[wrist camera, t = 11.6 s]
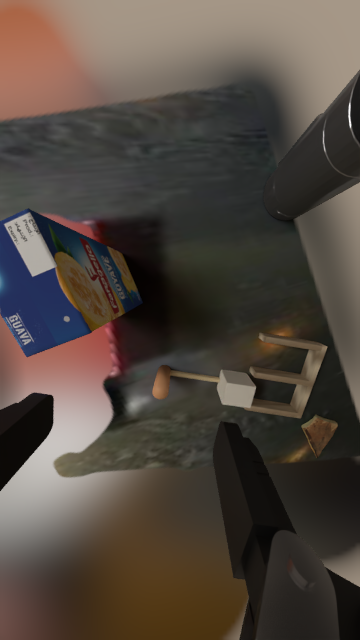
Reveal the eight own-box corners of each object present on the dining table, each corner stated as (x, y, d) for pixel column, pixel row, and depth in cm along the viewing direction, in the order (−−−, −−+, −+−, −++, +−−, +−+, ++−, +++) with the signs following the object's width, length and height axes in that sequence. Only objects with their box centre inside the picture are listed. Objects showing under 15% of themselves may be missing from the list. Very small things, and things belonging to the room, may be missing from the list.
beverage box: (121, 252, 35) (27, 207, 14) (143, 303, 37) (91, 333, 16) (91, 265, 36) (-45, 240, 14) (114, 314, 38) (26, 357, 16)
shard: (313, 452, 46) (318, 459, 44) (287, 444, 46) (291, 450, 44) (334, 420, 44) (341, 426, 42) (307, 410, 43) (313, 416, 42)
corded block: (159, 360, 40) (154, 379, 32) (246, 373, 41) (261, 394, 33) (156, 379, 41) (151, 402, 33) (241, 391, 42) (255, 417, 34)
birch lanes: (259, 332, 38) (266, 336, 36) (316, 341, 39) (327, 346, 36) (240, 400, 42) (245, 409, 39) (292, 408, 43) (300, 418, 40)
